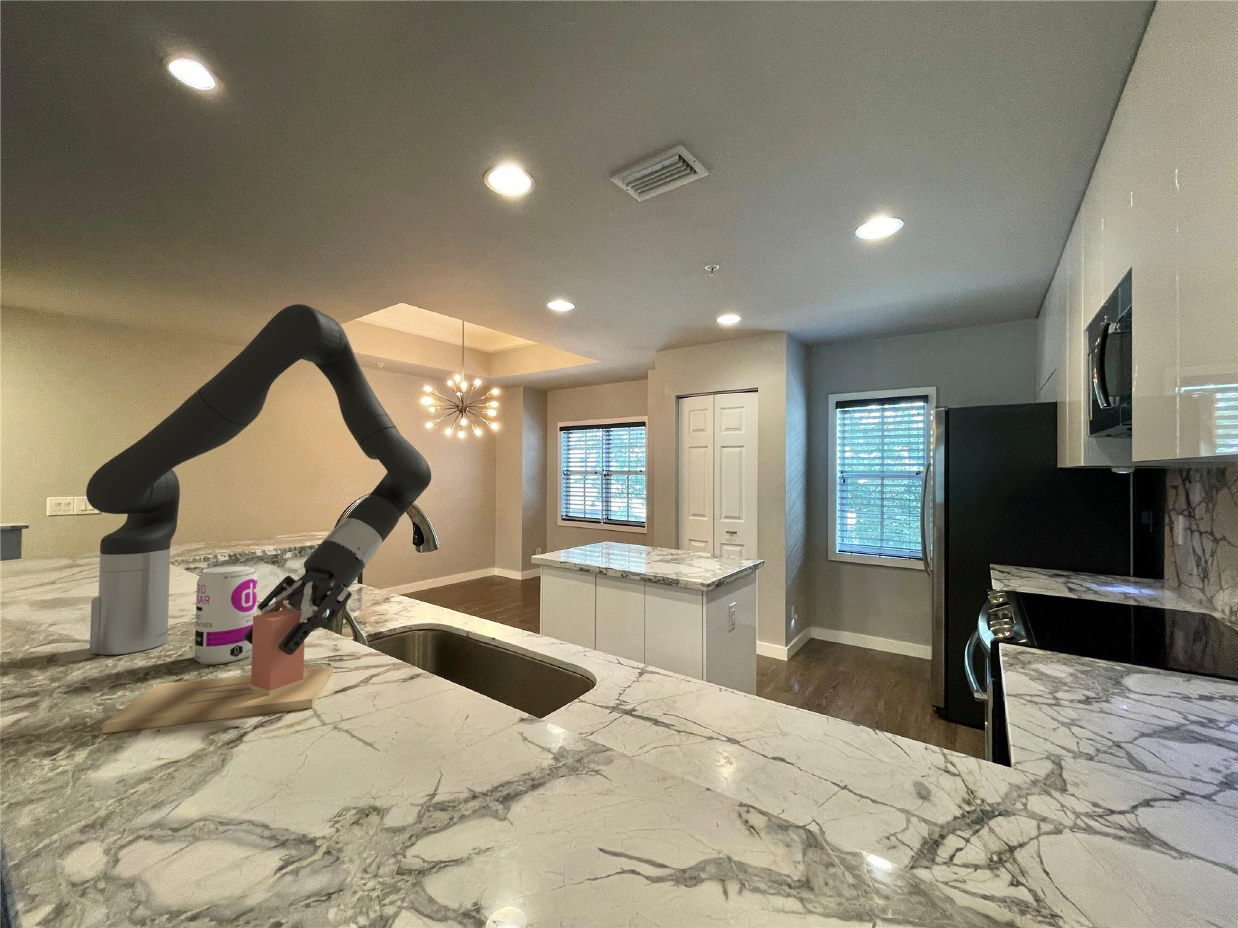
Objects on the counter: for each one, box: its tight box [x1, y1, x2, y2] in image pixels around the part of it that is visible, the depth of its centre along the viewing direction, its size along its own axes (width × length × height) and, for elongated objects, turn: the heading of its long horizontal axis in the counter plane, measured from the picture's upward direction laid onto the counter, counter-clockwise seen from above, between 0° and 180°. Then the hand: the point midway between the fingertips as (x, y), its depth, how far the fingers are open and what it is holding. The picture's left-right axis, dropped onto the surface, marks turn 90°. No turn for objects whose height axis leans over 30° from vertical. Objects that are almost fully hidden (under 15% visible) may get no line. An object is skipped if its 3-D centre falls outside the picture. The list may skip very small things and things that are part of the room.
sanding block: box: [250, 609, 305, 695], centre depth 71 cm, size 5×5×10 cm
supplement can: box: [194, 564, 259, 666], centre depth 86 cm, size 8×8×15 cm
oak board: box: [101, 666, 334, 734], centre depth 69 cm, size 22×12×1 cm, turn 108°
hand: (266, 646), depth 70 cm, fingers open, 8 cm apart
